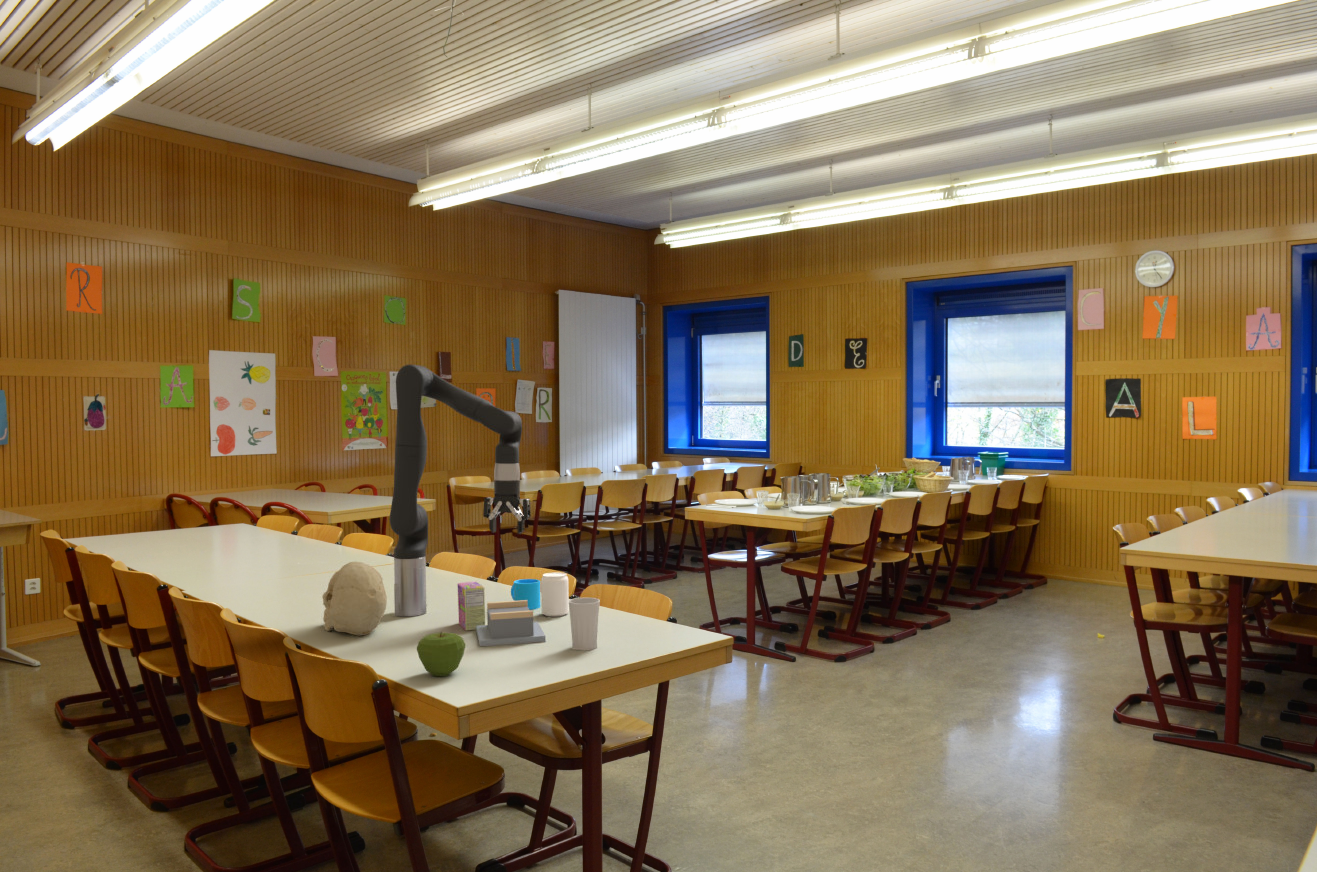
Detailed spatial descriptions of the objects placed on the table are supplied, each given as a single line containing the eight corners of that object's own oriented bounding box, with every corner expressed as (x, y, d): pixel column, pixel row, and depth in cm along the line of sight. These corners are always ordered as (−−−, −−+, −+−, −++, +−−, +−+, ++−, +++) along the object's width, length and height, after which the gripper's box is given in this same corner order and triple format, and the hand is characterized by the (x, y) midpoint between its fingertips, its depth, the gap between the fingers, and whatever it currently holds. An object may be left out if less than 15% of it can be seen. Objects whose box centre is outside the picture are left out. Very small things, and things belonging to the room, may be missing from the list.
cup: (588, 652, 221) (587, 605, 221) (562, 648, 226) (562, 601, 225) (606, 645, 228) (605, 599, 228) (581, 641, 232) (581, 596, 232)
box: (458, 623, 255) (457, 582, 254) (477, 621, 257) (477, 580, 257) (465, 631, 245) (464, 588, 245) (485, 629, 247) (484, 587, 247)
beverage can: (574, 613, 265) (573, 574, 265) (553, 618, 259) (553, 577, 259) (556, 609, 271) (556, 571, 270) (536, 614, 265) (535, 574, 265)
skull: (355, 617, 262) (356, 550, 260) (398, 636, 243) (398, 564, 242) (306, 625, 251) (306, 556, 250) (346, 646, 233) (347, 571, 232)
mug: (545, 607, 275) (545, 581, 275) (524, 611, 269) (524, 584, 269) (522, 601, 284) (521, 576, 283) (501, 605, 278) (500, 580, 278)
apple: (469, 667, 210) (468, 625, 209) (460, 680, 199) (460, 636, 199) (423, 667, 209) (422, 626, 209) (412, 681, 199) (411, 637, 199)
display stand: (479, 646, 229) (479, 615, 228) (476, 631, 245) (475, 602, 245) (545, 641, 233) (545, 611, 233) (537, 626, 249) (537, 598, 249)
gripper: (479, 478, 260) (479, 533, 261) (524, 480, 256) (523, 535, 257) (490, 476, 267) (490, 530, 268) (534, 478, 264) (534, 532, 264)
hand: (506, 532), depth 262 cm, fingers open, 8 cm apart
